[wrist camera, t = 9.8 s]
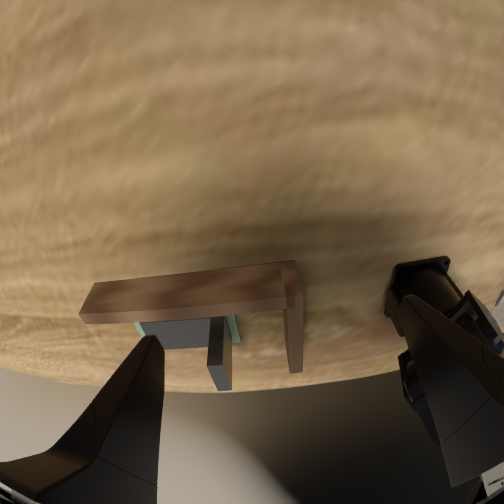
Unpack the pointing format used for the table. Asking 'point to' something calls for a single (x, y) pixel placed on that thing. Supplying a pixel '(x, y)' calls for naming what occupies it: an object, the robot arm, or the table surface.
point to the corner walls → (205, 299)
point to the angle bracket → (199, 342)
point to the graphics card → (499, 309)
